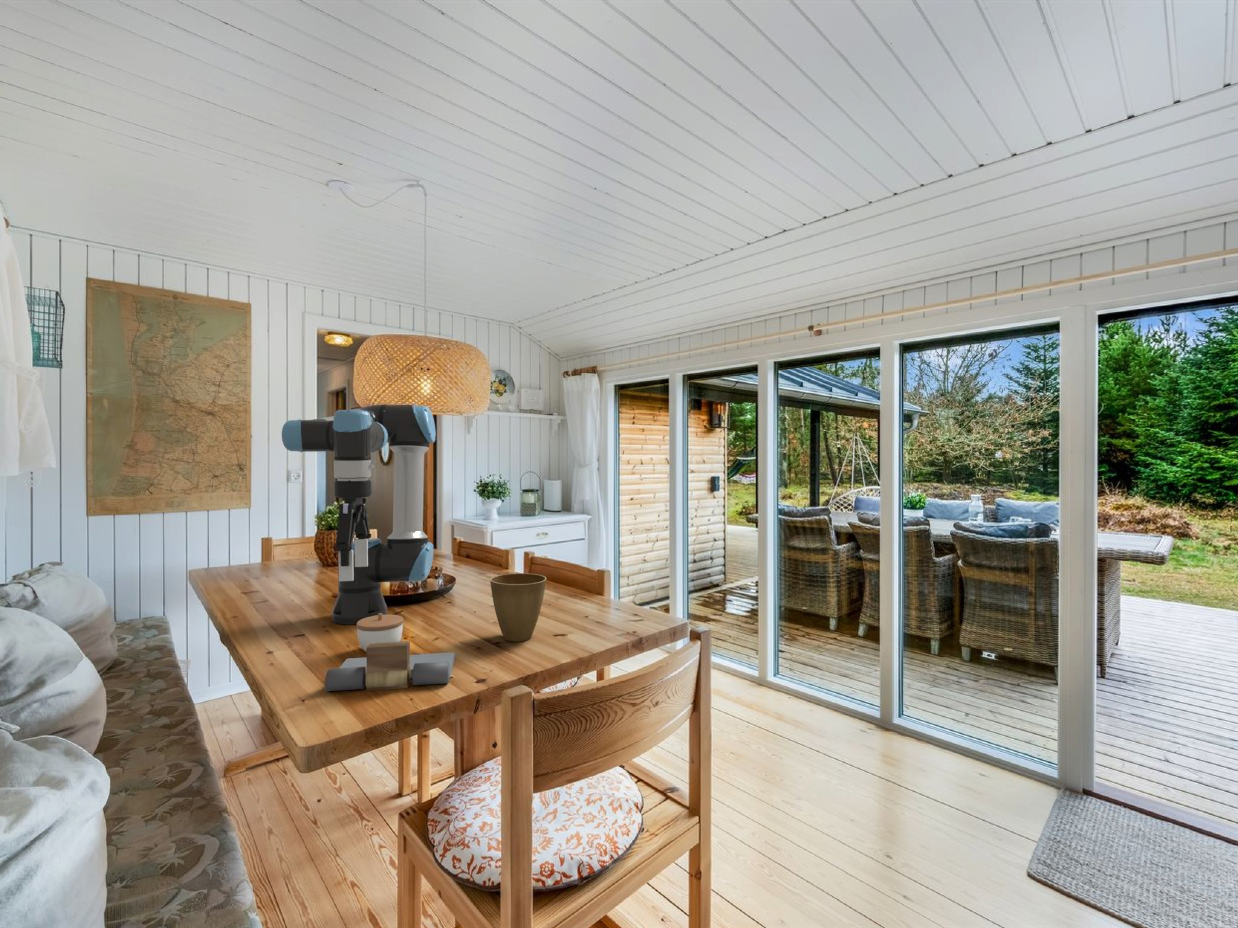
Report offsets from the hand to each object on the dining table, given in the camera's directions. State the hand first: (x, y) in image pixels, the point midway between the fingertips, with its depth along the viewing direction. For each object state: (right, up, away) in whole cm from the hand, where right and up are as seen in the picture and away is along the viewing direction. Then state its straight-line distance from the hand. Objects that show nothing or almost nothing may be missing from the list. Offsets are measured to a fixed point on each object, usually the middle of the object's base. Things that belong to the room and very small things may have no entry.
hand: (354, 573), depth 126 cm
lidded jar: (0, -22, +14) cm, 26 cm away
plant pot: (+33, -22, +25) cm, 47 cm away
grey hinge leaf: (+10, -22, -3) cm, 25 cm away
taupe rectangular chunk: (+11, -22, -8) cm, 26 cm away
